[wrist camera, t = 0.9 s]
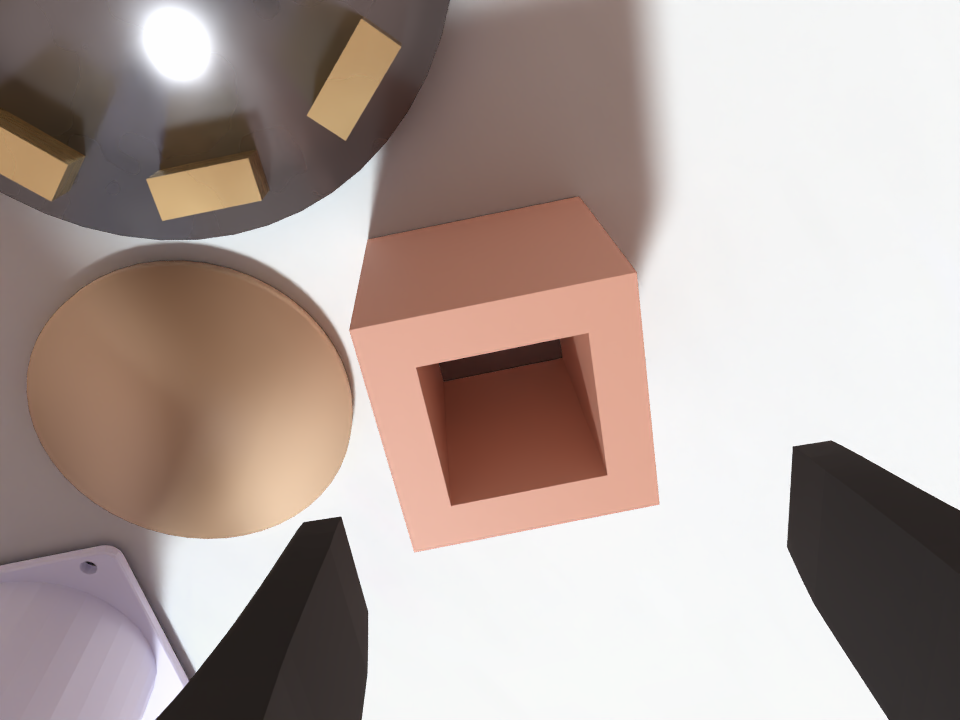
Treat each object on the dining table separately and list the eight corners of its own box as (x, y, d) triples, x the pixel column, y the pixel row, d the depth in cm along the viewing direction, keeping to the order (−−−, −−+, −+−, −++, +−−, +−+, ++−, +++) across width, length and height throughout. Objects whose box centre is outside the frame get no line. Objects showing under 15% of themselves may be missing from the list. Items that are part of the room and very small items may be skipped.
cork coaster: (111, 552, 24) (105, 562, 24) (-25, 297, 20) (-34, 303, 20) (384, 498, 24) (383, 507, 24) (303, 230, 20) (300, 235, 20)
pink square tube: (415, 420, 23) (414, 552, 18) (367, 239, 20) (349, 330, 15) (603, 382, 23) (659, 504, 18) (579, 196, 20) (636, 272, 15)
